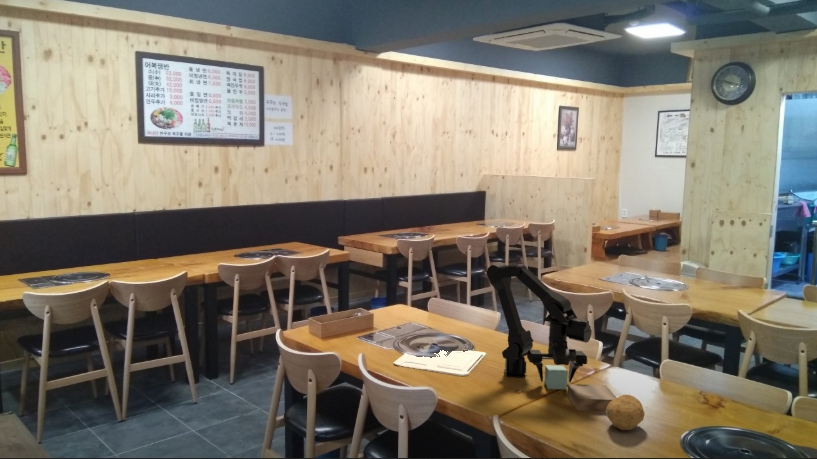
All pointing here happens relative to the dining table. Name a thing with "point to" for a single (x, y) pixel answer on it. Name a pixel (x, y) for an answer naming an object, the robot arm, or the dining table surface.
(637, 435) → the dining table surface
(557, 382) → the teal cube
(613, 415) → the potato
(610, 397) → the walnut block
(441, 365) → the tray
